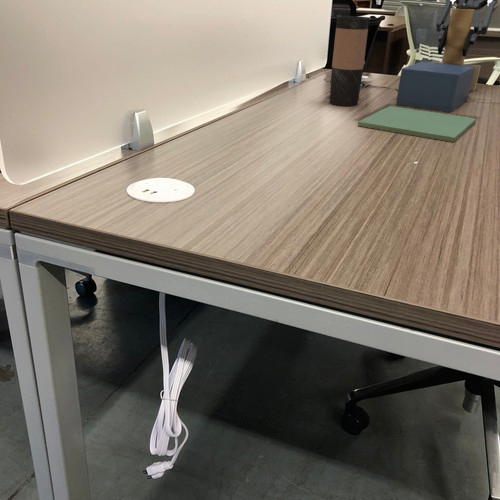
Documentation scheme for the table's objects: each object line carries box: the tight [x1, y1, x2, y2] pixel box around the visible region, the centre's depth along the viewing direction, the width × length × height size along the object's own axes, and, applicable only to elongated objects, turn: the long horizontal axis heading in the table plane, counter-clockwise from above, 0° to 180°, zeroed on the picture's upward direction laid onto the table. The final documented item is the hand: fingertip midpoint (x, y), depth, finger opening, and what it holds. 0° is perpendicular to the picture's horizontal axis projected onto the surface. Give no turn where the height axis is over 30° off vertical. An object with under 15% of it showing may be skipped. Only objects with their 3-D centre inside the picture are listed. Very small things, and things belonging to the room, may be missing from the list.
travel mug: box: [329, 15, 370, 107], centre depth 124 cm, size 8×8×20 cm
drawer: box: [433, 60, 481, 92], centre depth 141 cm, size 20×13×7 cm, turn 147°
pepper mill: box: [441, 3, 474, 66], centre depth 135 cm, size 6×6×18 cm
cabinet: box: [395, 61, 474, 113], centre depth 130 cm, size 17×14×9 cm
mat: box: [357, 105, 477, 143], centre depth 110 cm, size 20×20×1 cm
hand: (451, 51), depth 134 cm, fingers closed on pepper mill, 6 cm apart
